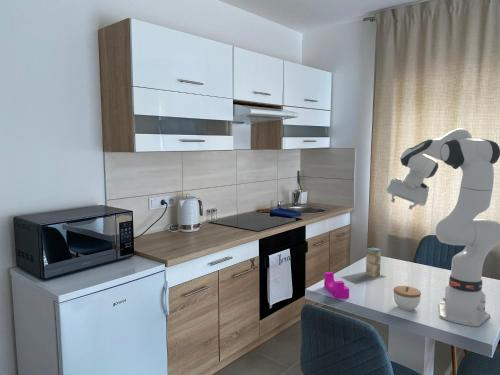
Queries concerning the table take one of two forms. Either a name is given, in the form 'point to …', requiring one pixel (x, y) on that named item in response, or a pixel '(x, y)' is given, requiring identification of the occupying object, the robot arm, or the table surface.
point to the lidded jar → (407, 297)
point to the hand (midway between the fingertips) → (401, 205)
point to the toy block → (335, 286)
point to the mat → (361, 277)
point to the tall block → (373, 262)
